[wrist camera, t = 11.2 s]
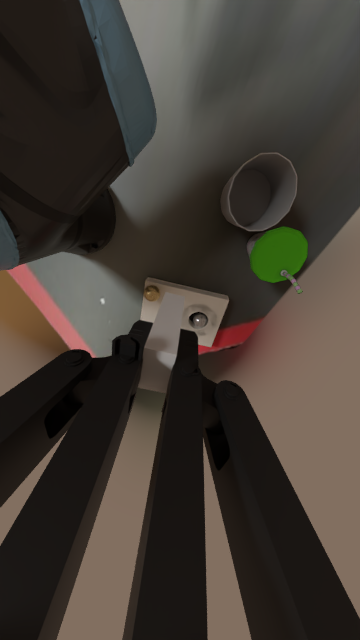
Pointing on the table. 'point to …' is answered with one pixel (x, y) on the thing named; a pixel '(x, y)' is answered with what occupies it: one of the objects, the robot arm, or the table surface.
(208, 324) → the plate
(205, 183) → the table surface
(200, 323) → the steel ball
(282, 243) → the cup
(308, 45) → the table surface
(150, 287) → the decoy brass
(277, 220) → the cup
